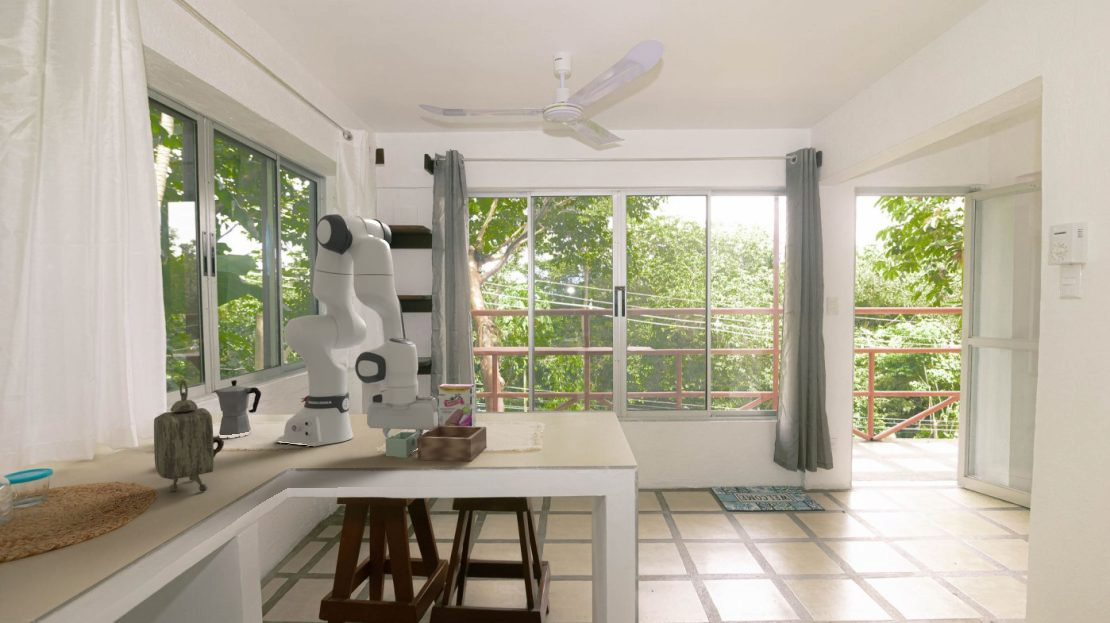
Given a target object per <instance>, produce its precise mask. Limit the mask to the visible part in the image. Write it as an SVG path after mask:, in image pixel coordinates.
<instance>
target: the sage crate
mask: <svg viewBox="0 0 1110 623" xmlns="http://www.w3.org/2000/svg"><path fill="white" fill-rule="evenodd" d="M417 434H418V433H416V431H401V430H400V431H398V432H397V433H394V434H393V435H391V437H389V438H385V457H386V456H396V457H395V458H408V457H409V456H411V455H412V454H413V453H412V452H413V451H414V450H416V449H417V448H418V445H412V439H413V438H416V436H417ZM411 453H412V454H411ZM410 454H411V455H410ZM407 456H408V457H407Z"/></svg>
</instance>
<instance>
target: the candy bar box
mask: <svg viewBox="0 0 1110 623" xmlns="http://www.w3.org/2000/svg"><path fill="white" fill-rule="evenodd" d="M437 403H438V408H437V413H438V426H474V427H477V426H476V423H477V422H476V384H473V383H471V384H470V383H469V384H468V383H467V384H465V383H464V384H463V383H461V384H459V383H457V384H456V383H441V384H439V385H437Z"/></svg>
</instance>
